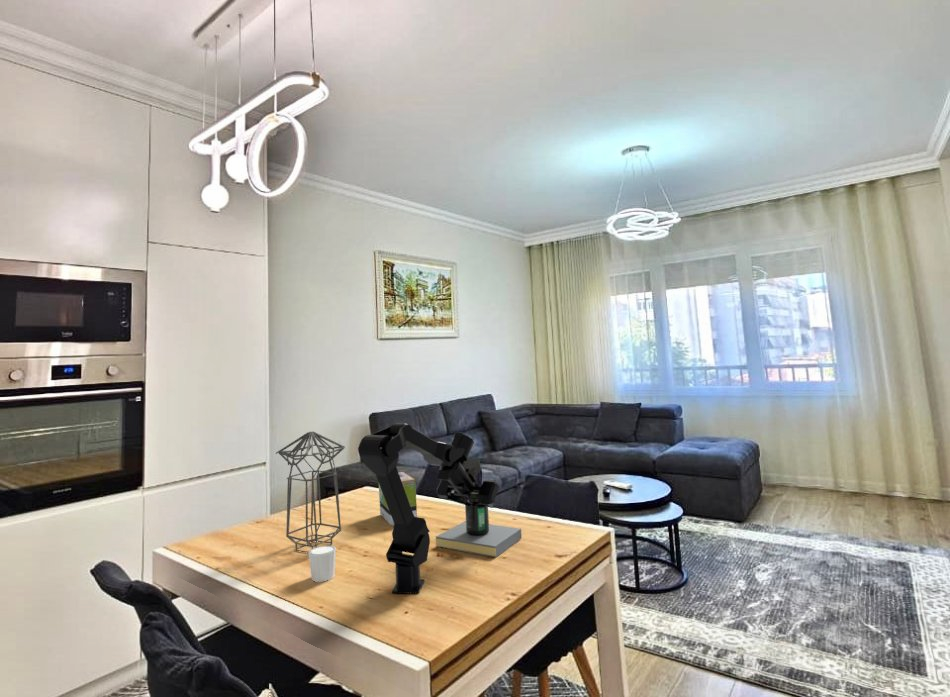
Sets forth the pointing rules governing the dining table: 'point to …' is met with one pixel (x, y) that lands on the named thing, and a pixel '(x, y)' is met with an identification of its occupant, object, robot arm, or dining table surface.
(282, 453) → the geometric lantern
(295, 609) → the dining table surface
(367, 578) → the dining table surface
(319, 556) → the white cylinder
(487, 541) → the gray hardcover book
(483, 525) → the supplement bottle
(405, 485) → the tea box
